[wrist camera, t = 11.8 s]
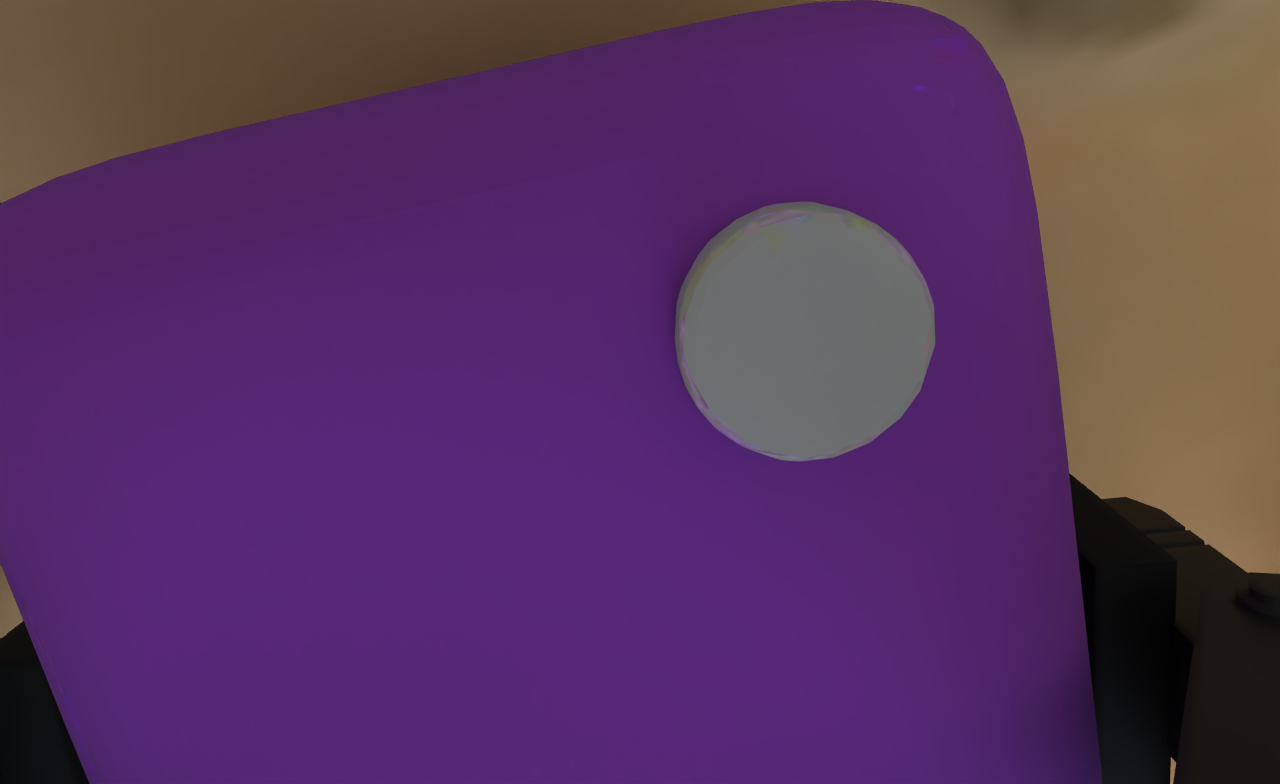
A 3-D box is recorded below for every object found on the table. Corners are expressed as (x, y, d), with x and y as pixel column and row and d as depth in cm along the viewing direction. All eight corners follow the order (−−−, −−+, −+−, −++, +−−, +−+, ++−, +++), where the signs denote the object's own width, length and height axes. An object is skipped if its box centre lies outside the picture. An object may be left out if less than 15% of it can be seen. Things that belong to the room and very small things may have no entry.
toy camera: (518, 871, 19) (381, 1593, 10) (176, 232, 16) (-514, 365, 7) (1044, 685, 18) (1481, 1303, 9) (779, -43, 15) (991, -361, 6)
